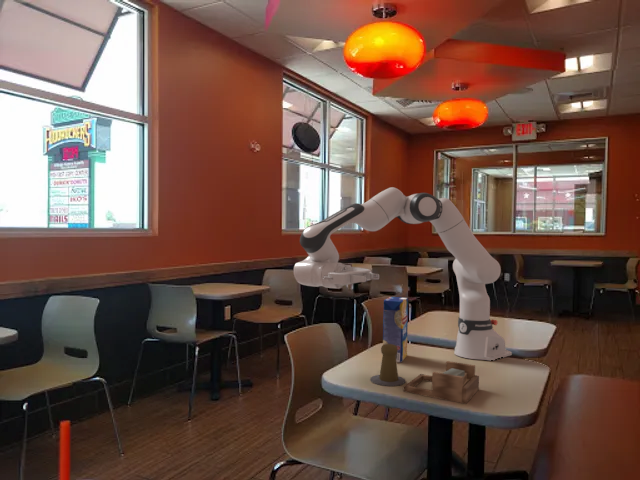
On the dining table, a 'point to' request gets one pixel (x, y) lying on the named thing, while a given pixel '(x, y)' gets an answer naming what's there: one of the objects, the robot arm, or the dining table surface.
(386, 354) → the cork
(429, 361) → the dining table surface
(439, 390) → the rack
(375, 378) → the coaster
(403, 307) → the beverage box
